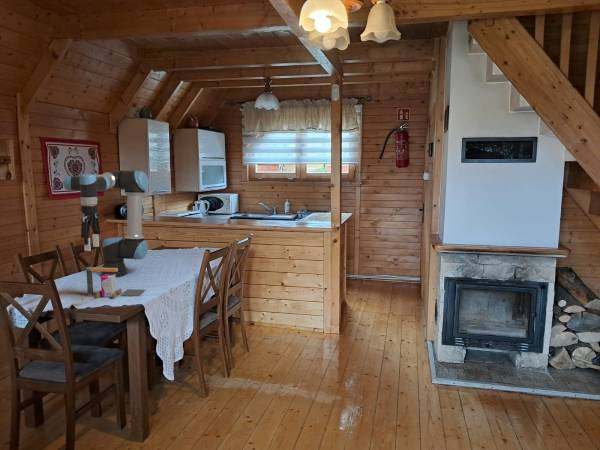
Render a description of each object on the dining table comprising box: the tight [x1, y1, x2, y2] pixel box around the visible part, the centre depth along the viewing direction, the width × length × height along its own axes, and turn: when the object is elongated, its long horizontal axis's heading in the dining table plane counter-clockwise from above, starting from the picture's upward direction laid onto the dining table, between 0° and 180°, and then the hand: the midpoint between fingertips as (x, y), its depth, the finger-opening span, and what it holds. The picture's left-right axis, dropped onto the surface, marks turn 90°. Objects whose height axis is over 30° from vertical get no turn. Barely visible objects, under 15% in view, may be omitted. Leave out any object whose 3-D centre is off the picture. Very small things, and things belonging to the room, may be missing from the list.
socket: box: [86, 271, 123, 300], centre depth 240 cm, size 10×16×14 cm, turn 89°
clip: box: [85, 266, 118, 272], centre depth 239 cm, size 3×17×2 cm, turn 89°
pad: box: [119, 288, 146, 297], centre depth 246 cm, size 10×10×1 cm
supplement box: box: [100, 274, 117, 298], centre depth 240 cm, size 6×6×12 cm
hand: (91, 248), depth 231 cm, fingers open, 9 cm apart
